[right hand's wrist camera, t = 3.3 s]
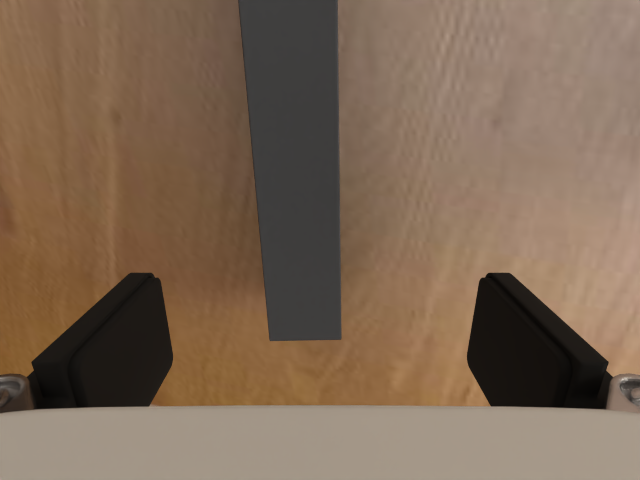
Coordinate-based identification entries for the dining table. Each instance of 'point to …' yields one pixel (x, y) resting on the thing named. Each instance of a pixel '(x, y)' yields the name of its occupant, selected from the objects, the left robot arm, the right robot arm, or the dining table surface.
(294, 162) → the post
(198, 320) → the dining table surface
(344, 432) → the right robot arm
